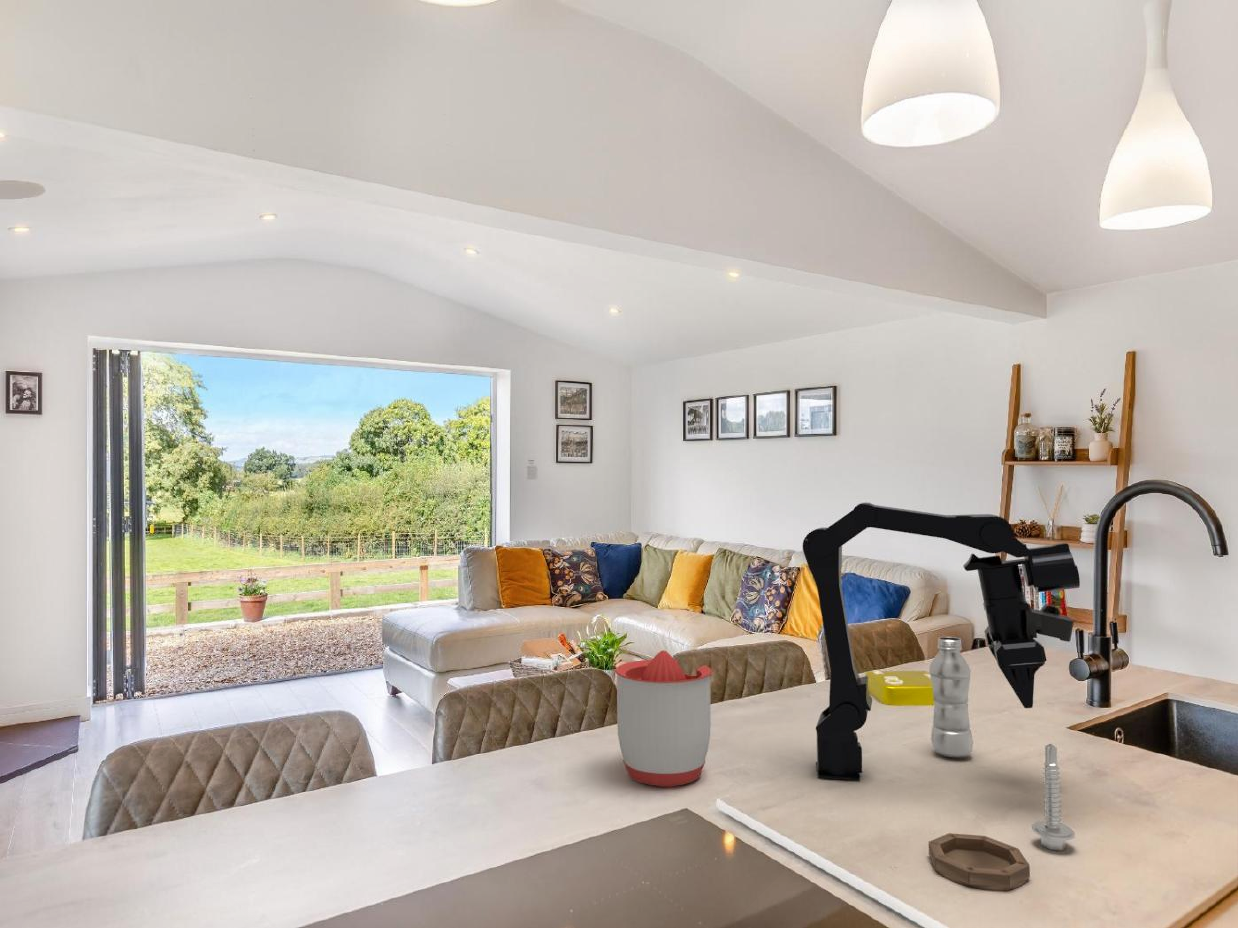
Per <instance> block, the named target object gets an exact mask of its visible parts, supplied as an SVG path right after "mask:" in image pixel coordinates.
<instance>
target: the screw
mask: <svg viewBox="0 0 1238 928" xmlns="http://www.w3.org/2000/svg"><path fill="white" fill-rule="evenodd" d="M1044 747H1045V748H1044V749H1045V751H1044V752H1045V753H1044V754H1045V755H1044V756H1045V757H1044V759H1045V762H1044V763H1043V765H1044V767H1043V770H1044V772H1043V774H1044V777H1043V779H1044V781H1043V783H1044V786H1043V788H1044V791H1043V793H1044V794H1045V795H1044V796H1043V797H1044V798H1045V799H1044V800H1043V802H1044V803H1045V804H1044V807H1045V809H1044V812H1045V813H1044V816H1045V818H1044V820H1036V821H1035V822H1033V823H1032V824H1031V830H1032V832H1033V833H1034V834H1037V835H1038V836H1039V837H1040V845H1041V846H1043V847H1045V848H1046V849H1048V850H1051V851H1063V850H1064V849H1065V848H1066V841H1070V840H1073V839H1074V838H1075V837H1076V835H1075V833H1076V832H1075V831H1074V830H1073V829H1072V828H1071V827H1070V826H1068V825H1066V824H1064V823H1061V821H1062V819H1061V811H1062V810H1061V804H1060V803H1061V799H1060V798H1061V795H1060V793H1061V790H1060V789H1061V786H1060V784H1061V781H1060V779H1061V777H1060V773H1061V772H1060V771H1059V770H1060V767H1059V766H1058V765H1059V763H1058V754H1057V753H1058V751H1057V749H1058V747H1056V746H1055V745H1054V744H1052V743H1049V744H1047V745H1045V746H1044Z"/></svg>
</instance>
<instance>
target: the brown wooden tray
mask: <svg viewBox="0 0 1238 928" xmlns="http://www.w3.org/2000/svg"><path fill="white" fill-rule="evenodd" d="M928 855H929V857H930V864H931V866H932V868H933V869H934V871H936V872H937V873H938V874H939V875H941V876H942V877H944V878H946V879H947V880H950V881H953V882H954V883H957V884H959V885H962V886H965V887H970V888H973V889H978V890H985V891H1000V892H1001V891H1009V890H1015V889H1019V888H1021V887H1022V886H1024V885H1025V884H1026V883H1027V881H1028V879H1029V878H1030V877H1031V876H1030V875H1031V873H1030V869H1031V868H1030V864H1029V862H1028V861H1027V859H1026V857H1025V856H1024V855H1023V853H1022V852H1021V851H1020V849H1019V848H1018V847H1015V846H1012V845H1010V844H1008V843H1005V842H1002V841H999V840H997V839H994V838H991V837H989V836H986V835H978V834H966V833H965V834H964V833H963V834H962V833H952V832H951V833H950V832H949V833H946V834H944V835H941V836H939V837H937V838H934V839H932V840H930V841H928Z"/></svg>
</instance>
